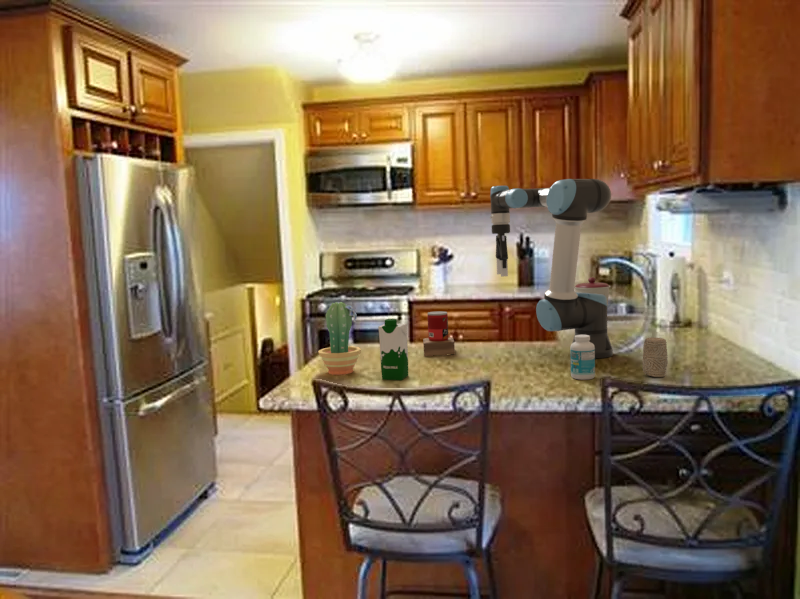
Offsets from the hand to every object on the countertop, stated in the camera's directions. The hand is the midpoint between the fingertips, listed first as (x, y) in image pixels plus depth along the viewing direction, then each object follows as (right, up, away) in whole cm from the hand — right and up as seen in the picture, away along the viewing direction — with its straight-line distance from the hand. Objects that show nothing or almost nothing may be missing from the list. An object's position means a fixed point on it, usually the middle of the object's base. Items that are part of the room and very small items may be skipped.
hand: (502, 275), depth 276 cm
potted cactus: (-64, -36, -39) cm, 83 cm away
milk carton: (-44, -37, -52) cm, 78 cm away
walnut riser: (-27, -31, -11) cm, 43 cm away
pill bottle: (+16, -35, -65) cm, 76 cm away
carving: (+38, -34, -68) cm, 85 cm away
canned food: (-27, -26, -12) cm, 40 cm away
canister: (+56, -20, +64) cm, 87 cm away
